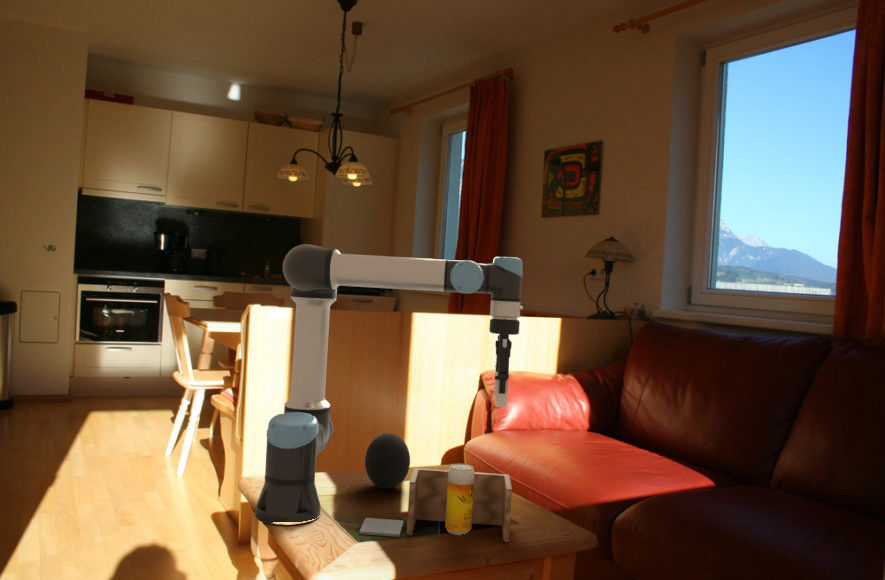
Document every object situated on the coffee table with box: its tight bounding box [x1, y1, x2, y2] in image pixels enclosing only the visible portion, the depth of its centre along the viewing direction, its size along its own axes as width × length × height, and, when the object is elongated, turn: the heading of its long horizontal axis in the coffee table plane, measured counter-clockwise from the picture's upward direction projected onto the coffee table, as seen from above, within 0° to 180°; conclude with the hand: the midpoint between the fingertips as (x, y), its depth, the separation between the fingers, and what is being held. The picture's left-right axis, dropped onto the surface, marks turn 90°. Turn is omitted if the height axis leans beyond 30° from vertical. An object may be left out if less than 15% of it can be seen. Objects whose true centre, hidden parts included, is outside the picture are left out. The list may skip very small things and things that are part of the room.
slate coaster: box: [358, 517, 404, 538], centre depth 159 cm, size 9×9×1 cm
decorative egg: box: [364, 432, 411, 490], centre depth 190 cm, size 12×12×15 cm
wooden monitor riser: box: [406, 467, 513, 541], centre depth 161 cm, size 23×12×12 cm, turn 87°
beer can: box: [444, 463, 475, 536], centre depth 160 cm, size 6×6×15 cm
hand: (499, 402), depth 175 cm, fingers open, 13 cm apart
